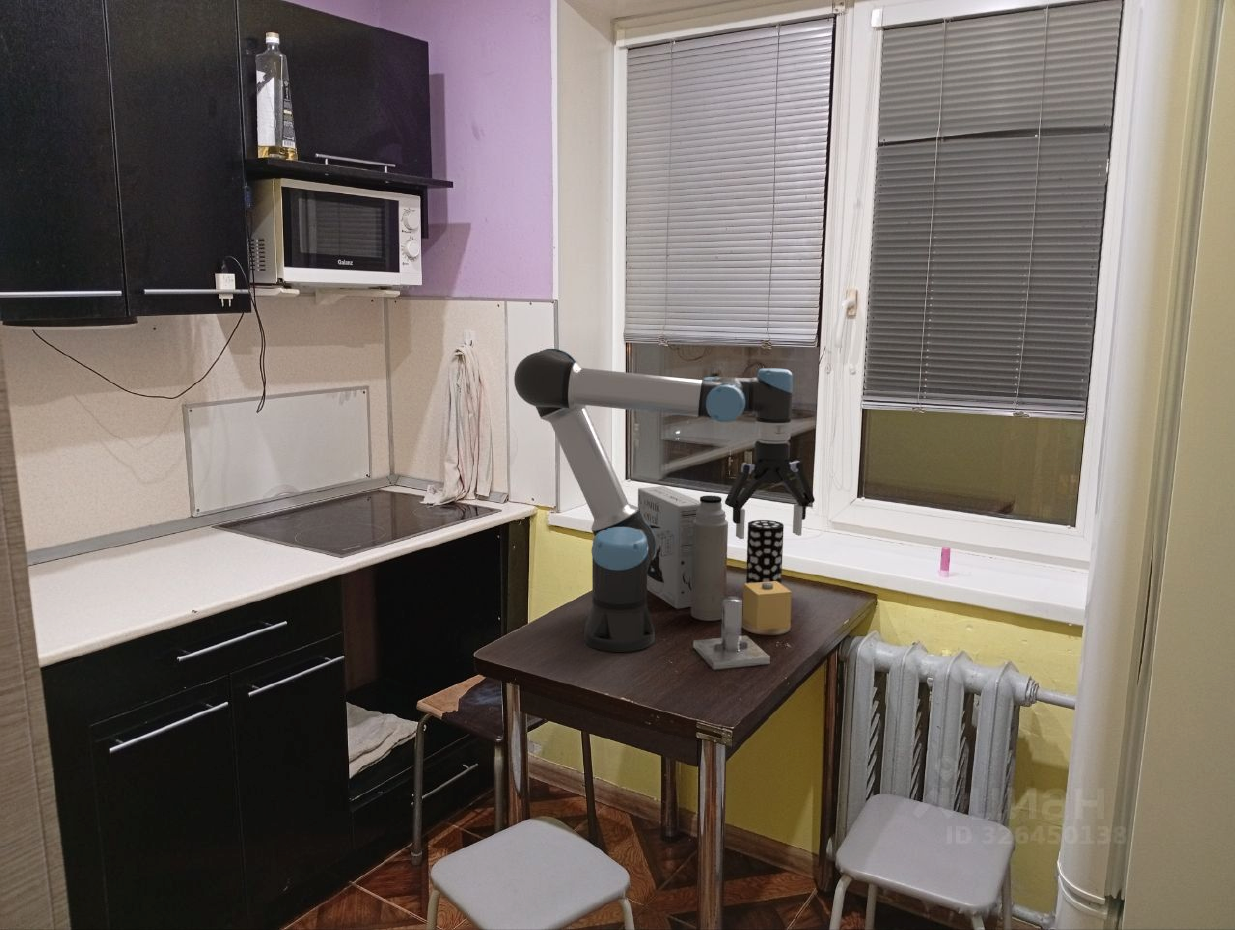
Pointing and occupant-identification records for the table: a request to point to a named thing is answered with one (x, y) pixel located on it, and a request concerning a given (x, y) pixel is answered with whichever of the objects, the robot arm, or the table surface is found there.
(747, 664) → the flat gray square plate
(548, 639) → the table surface
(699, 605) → the thermos bottle
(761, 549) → the white-spotted black cylinder
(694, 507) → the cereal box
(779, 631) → the cork pad
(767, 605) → the yellow knobbed cube
